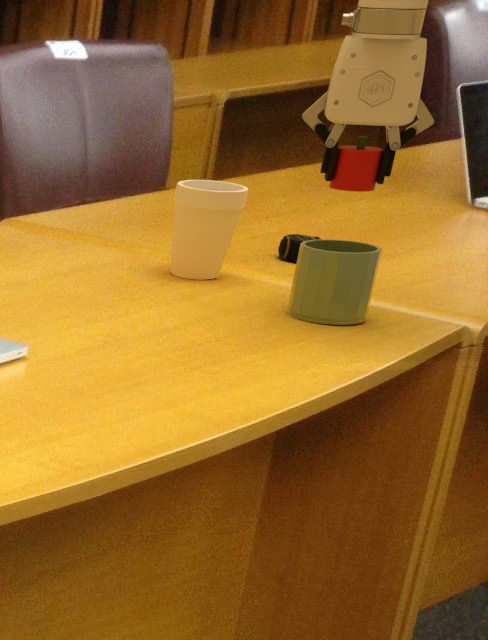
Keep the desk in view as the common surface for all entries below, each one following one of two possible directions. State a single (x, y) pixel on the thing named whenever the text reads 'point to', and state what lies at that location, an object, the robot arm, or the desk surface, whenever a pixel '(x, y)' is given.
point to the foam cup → (204, 226)
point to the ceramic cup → (333, 281)
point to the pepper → (357, 167)
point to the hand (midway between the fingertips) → (353, 179)
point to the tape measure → (292, 246)
